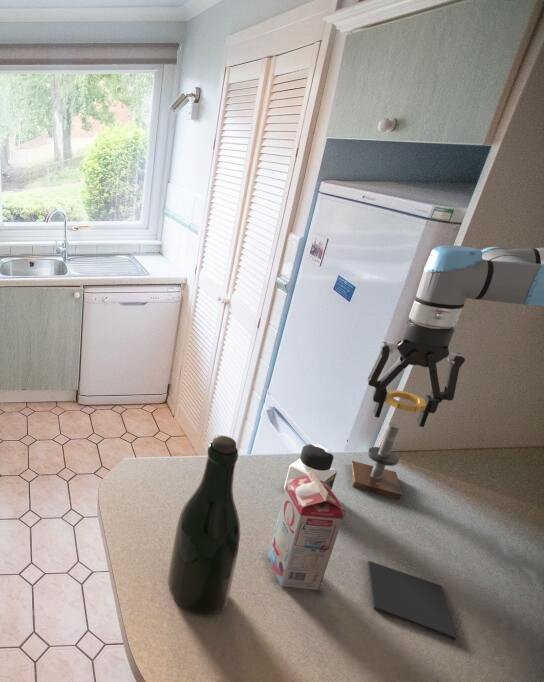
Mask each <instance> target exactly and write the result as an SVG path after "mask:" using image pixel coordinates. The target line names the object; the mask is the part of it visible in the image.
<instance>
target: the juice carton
mask: <svg viewBox="0 0 544 682" xmlns="http://www.w3.org/2000/svg"><path fill="white" fill-rule="evenodd" d="M345 513H346V510H345V509H344V507H343V506H342V504H341V502H340V501H339V499H338V498H337V496H336V495H335V493H334V492H333V491H332V489H330V488H329V486H328V485H327V484H326V483H325V482H323V481H321V480H319V478H318V477H317V475H316V474H315V472H314V471H313V469H312V468H311V467H310V471H309V475H305V476H302V477H298V478H295V479H291V480H289V481H288V482H287V486H286V490H284V493H283V498H282V502H281V505H280V510H279V513H278V516H277V517H278V518H277V521H276V525H275V529H274V532H273V536H272V540H271V544H270V546H269V551H268V556H267V557H268V559H269V562H270V564H271V567H272V569H273V572H274V574H275V576H276V578H277V581H278V583H279V586H280V587H287V588H297V589H305V590H314V591H315V590H316V591H319V590H320V588H321V586H322V582H323V579H324V576H325V573H326V570H327V567H328V564H329V561H330V559H331V555H332V552H333V549H334V546H335V543H336V540H337V537H338V534H339V531H340V529H341V526H342V522H343V520H344V516H345Z"/></svg>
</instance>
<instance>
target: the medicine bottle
mask: <svg viewBox="0 0 544 682" xmlns="http://www.w3.org/2000/svg"><path fill="white" fill-rule="evenodd" d="M334 458H335V457H334V454H333V452H332V451H331V450H330V449H328V448H326V447H324V446H322V445H319V444H316V443H315V444H313V443H309V444H306V445H304V446H302V449H301V453H300V457H299V459H297V460H296V461H294V462H293V463H291V464H290V465H289V467H288V470H287V476H286V479H285V482H284V487H283V490H284V491H285V490H286V486H287V482H288V481H289V480H291V479H295V478H298V477H302V476H305V475H309V471H310V467H311V468H312V469H313V471H314V472H315V474H316V475H317V477H318V478H319V480H321V481H323V482H325V483H326V484H327V485H328V486H329V488H330V489H331V490H333V486H334V483H335V479H336V476H337V473H338V470H337V469H335V468H333V467H332V464H333V461H334Z"/></svg>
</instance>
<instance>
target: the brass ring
mask: <svg viewBox="0 0 544 682" xmlns="http://www.w3.org/2000/svg"><path fill="white" fill-rule="evenodd" d="M396 398H399V399H405V400H408V401H411V402H413V404H412V403H406V402H402V401H400V400H398V399H396ZM384 403H386V404H387V405H389V406H391V407H393V408H395V409H398V410H402V411H406V412H411V413H414V412H415V413H420V411H424V410H425V409H426V406H427V404H426V402H425V398H423V397H420V396H418V395H416V394H414V393H410V392H408V391H403V390H397V389H392V390H387V395H386V398H385V401H384Z"/></svg>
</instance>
